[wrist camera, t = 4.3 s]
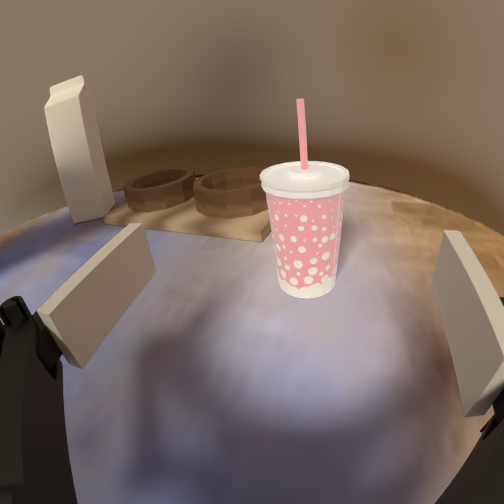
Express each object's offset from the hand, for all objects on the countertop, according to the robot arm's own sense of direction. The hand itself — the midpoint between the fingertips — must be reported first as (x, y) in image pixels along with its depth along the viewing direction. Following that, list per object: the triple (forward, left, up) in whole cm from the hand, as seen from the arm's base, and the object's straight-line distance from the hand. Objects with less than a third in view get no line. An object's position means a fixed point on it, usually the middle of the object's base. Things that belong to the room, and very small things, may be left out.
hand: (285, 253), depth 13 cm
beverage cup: (-2, +10, -9) cm, 13 cm away
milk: (-38, +18, -9) cm, 42 cm away
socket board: (-20, +22, -8) cm, 30 cm away
